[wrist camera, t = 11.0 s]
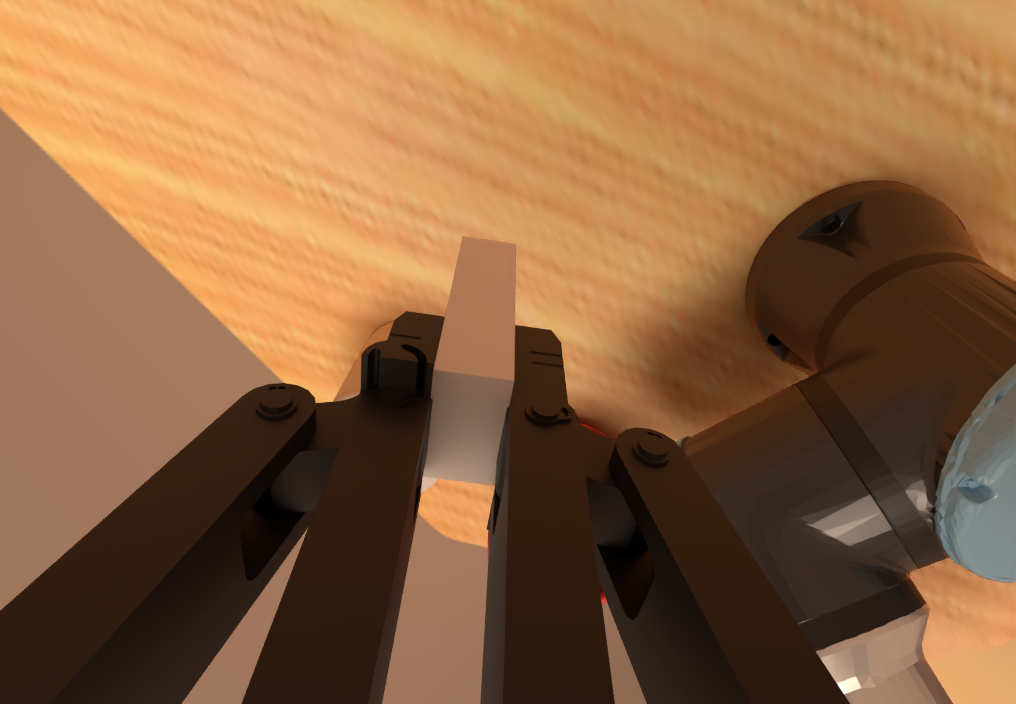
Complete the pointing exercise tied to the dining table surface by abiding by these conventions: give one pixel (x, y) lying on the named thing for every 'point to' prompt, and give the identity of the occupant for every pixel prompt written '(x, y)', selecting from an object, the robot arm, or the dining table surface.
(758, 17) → the dining table surface
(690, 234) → the dining table surface
